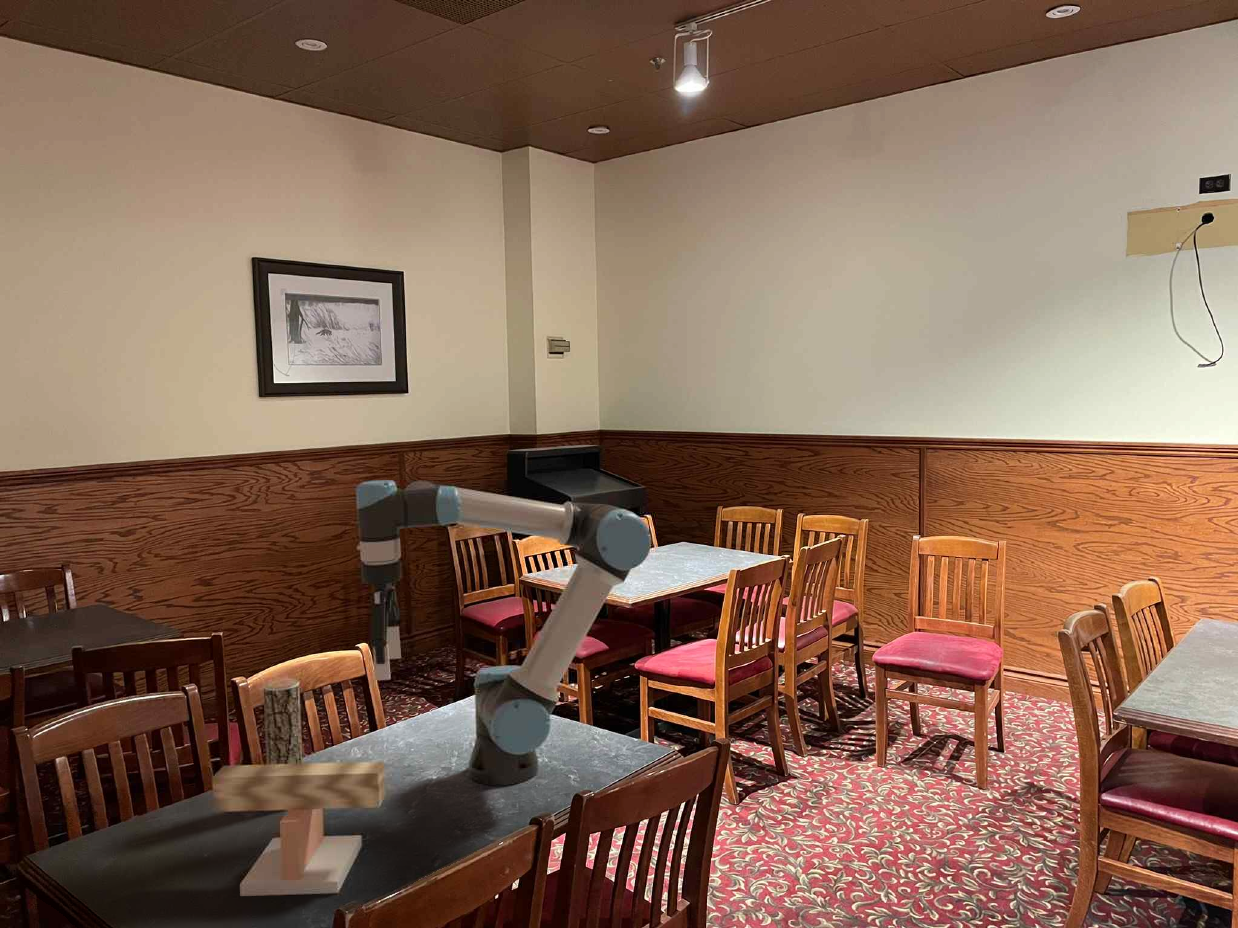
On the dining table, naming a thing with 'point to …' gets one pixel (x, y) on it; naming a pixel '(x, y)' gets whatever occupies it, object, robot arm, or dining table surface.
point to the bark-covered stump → (282, 721)
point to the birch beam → (299, 786)
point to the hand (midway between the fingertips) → (388, 668)
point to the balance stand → (302, 858)
